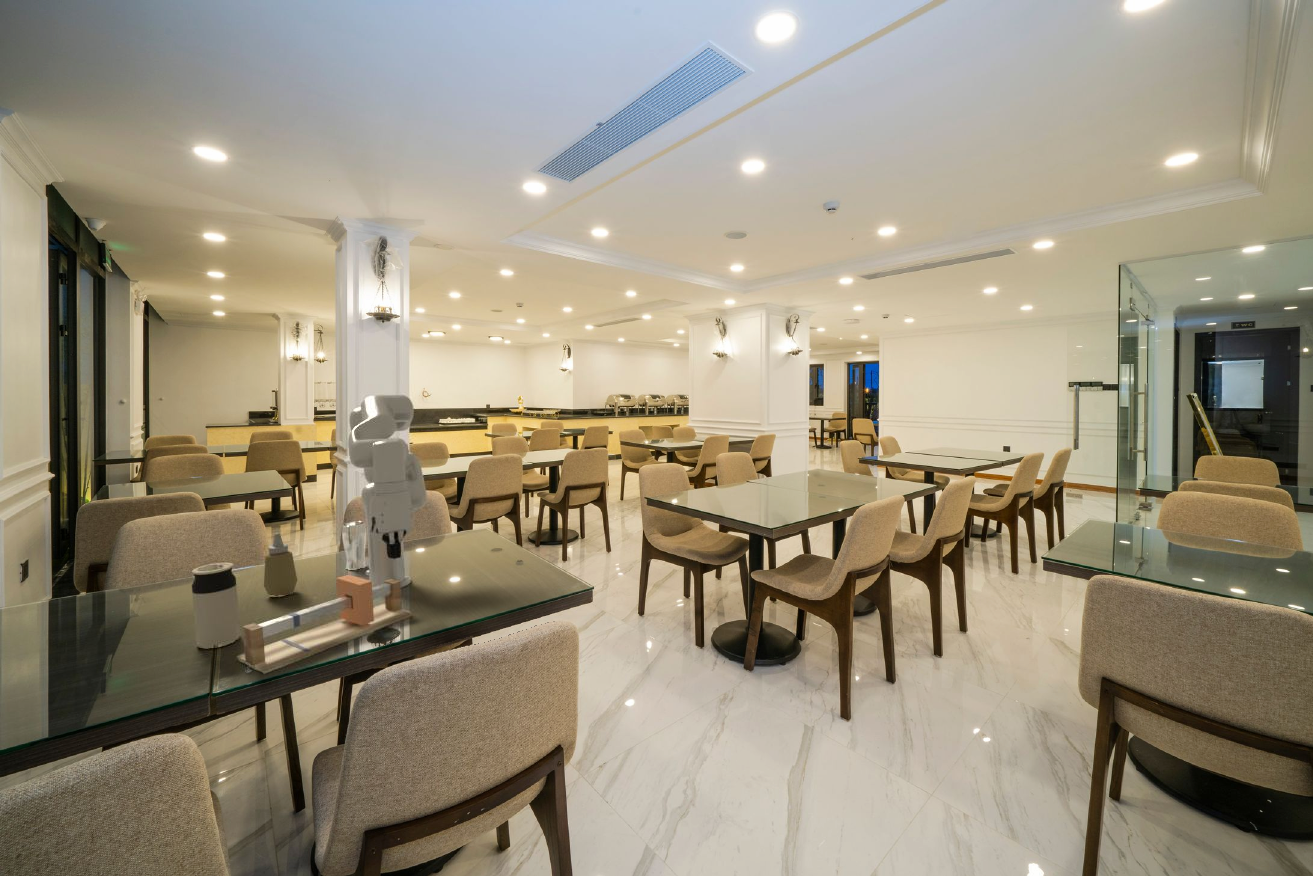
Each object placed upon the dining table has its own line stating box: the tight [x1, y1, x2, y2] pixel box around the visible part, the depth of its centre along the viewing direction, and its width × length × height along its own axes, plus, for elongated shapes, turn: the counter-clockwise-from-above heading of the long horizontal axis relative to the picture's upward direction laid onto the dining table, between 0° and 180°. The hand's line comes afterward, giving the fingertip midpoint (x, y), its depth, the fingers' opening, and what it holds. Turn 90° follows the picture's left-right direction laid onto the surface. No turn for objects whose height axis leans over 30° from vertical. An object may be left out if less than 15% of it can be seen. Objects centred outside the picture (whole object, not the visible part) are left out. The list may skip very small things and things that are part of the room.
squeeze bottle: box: [263, 532, 298, 596], centre depth 158 cm, size 8×8×18 cm
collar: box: [335, 574, 374, 625], centre depth 135 cm, size 10×3×10 cm, turn 59°
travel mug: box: [191, 562, 241, 646], centre depth 127 cm, size 8×8×18 cm
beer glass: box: [341, 520, 368, 571], centre depth 182 cm, size 7×7×15 cm
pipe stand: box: [236, 579, 412, 671], centre depth 130 cm, size 12×34×8 cm, turn 149°
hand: (394, 557), depth 143 cm, fingers closed
